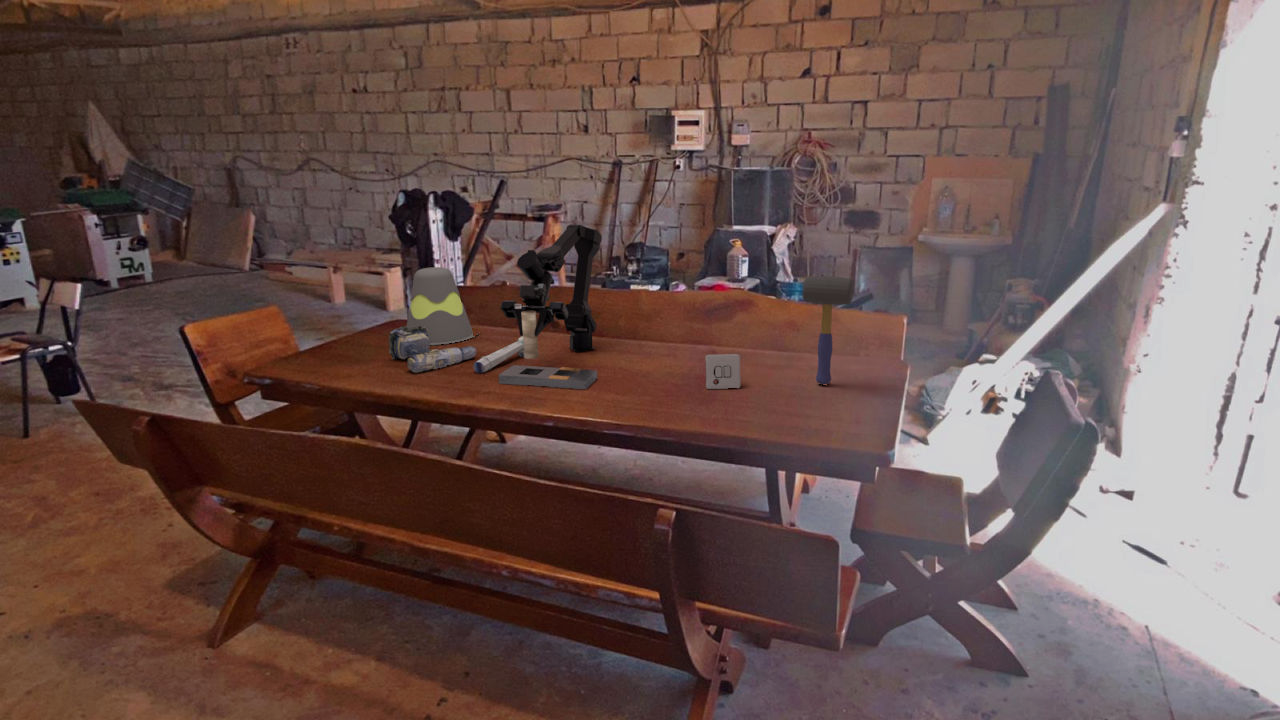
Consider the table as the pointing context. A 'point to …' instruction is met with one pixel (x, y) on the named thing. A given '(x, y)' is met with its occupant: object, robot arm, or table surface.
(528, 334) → the birch peg
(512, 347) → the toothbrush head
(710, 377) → the electrical switch
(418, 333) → the power drill
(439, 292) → the grey tapered bucket
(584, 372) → the grey peg hole board
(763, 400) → the table surface
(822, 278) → the rubber mallet
